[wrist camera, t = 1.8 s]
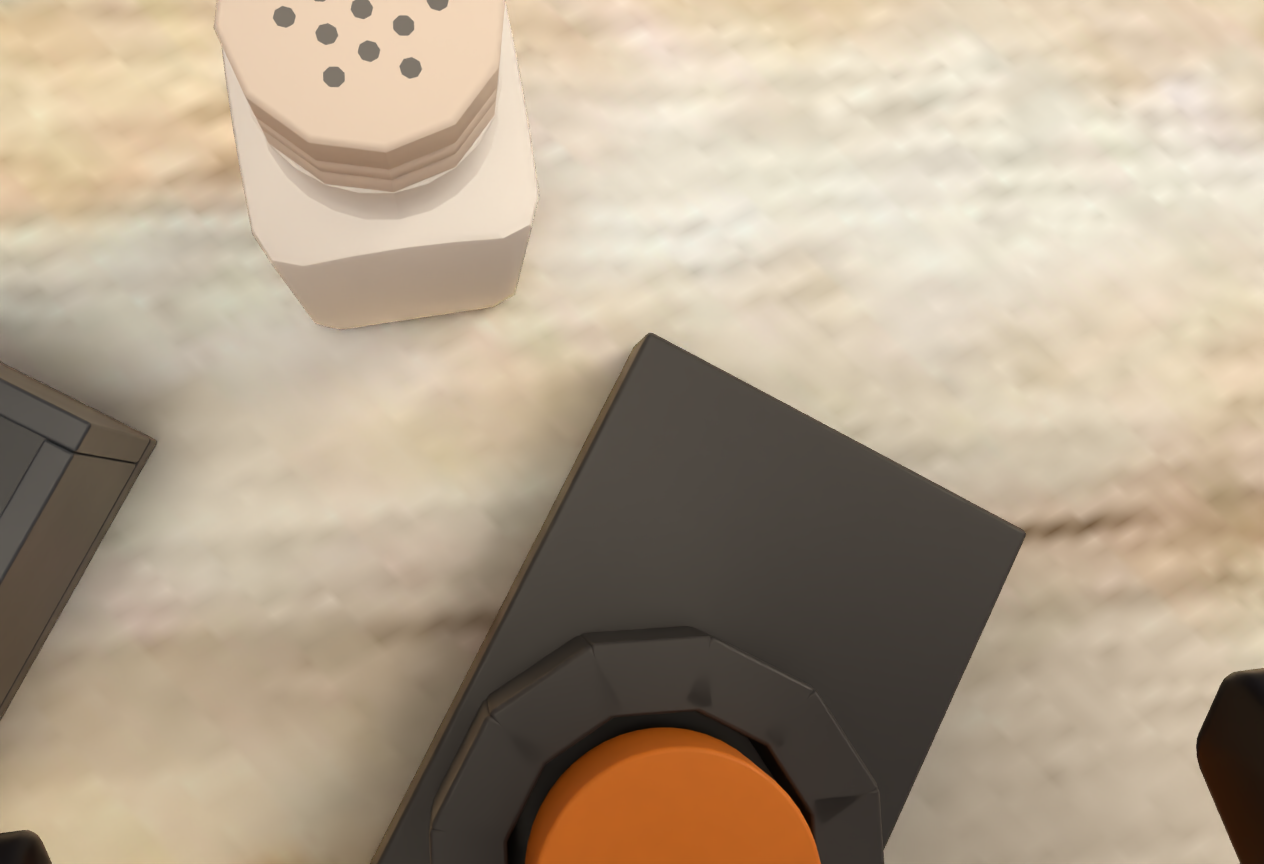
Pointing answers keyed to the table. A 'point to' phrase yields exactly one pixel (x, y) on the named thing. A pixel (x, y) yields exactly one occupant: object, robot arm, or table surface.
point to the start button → (668, 807)
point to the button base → (717, 618)
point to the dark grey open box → (52, 507)
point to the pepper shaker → (382, 152)
